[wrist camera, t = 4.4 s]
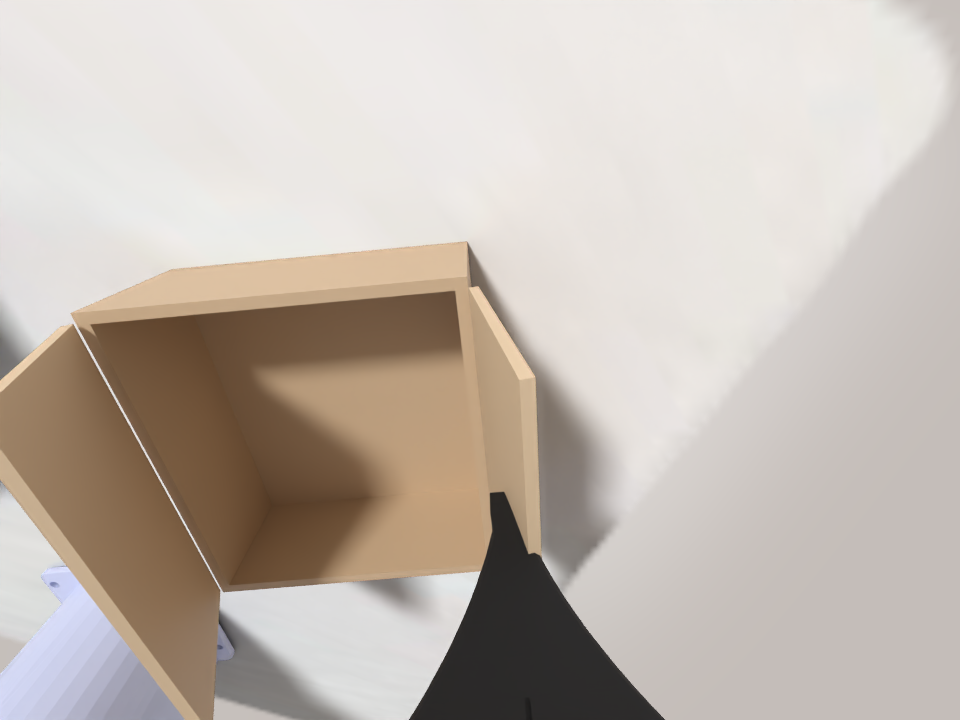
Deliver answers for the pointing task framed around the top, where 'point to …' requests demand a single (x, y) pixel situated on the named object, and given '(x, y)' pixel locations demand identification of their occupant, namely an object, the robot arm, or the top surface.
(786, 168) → the top surface
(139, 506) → the flap
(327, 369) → the carton
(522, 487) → the flap
